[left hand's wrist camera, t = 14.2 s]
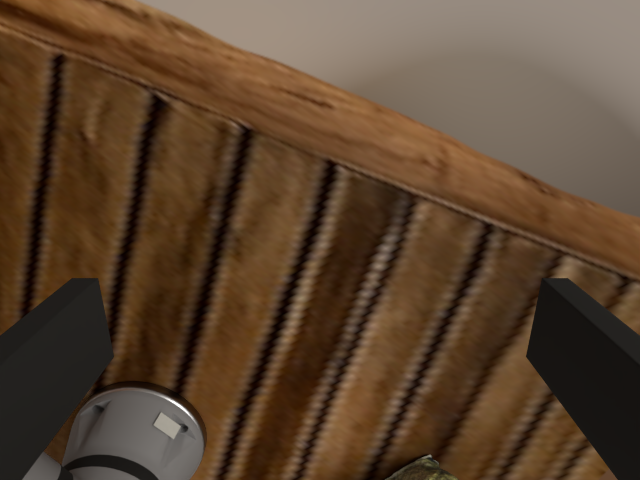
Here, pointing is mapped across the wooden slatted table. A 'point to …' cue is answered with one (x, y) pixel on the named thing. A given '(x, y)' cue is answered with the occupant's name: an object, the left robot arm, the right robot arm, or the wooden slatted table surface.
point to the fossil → (422, 471)
